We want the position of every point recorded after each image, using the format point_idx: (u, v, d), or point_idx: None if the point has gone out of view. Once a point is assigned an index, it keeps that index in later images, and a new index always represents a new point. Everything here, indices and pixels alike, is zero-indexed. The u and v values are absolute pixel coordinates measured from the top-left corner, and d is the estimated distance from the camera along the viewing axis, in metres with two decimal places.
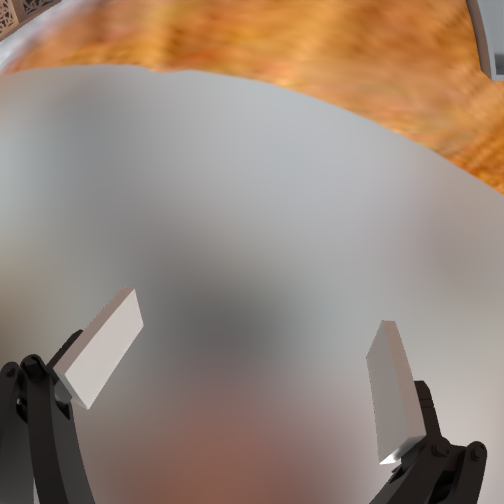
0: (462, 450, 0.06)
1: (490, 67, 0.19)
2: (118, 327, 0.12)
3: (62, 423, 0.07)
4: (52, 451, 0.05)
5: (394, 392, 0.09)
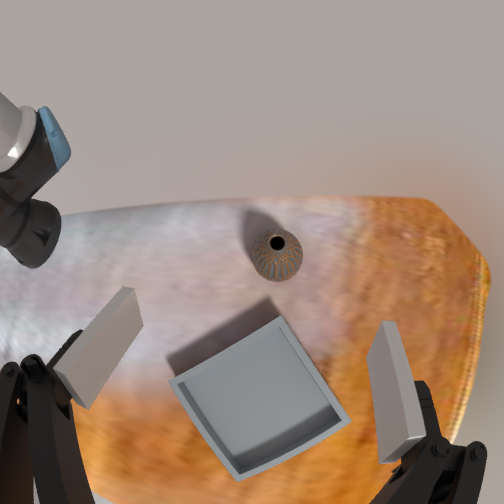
0: (462, 450, 0.06)
1: (229, 470, 0.29)
2: (118, 327, 0.12)
3: (62, 423, 0.07)
4: (52, 451, 0.05)
5: (394, 392, 0.09)
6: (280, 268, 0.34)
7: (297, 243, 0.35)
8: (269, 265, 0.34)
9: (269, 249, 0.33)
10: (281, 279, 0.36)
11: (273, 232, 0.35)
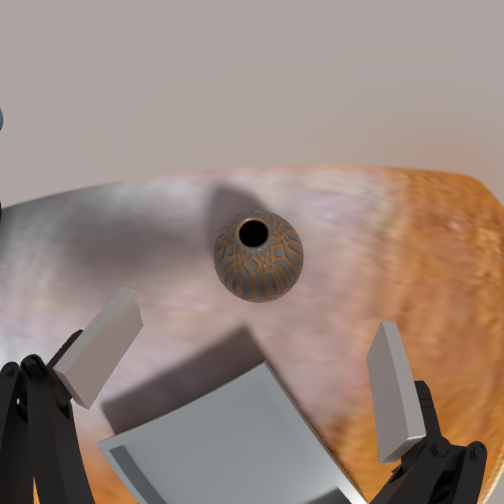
0: (462, 450, 0.06)
1: None
2: (118, 327, 0.12)
3: (62, 423, 0.07)
4: (52, 451, 0.05)
5: (394, 392, 0.09)
6: (261, 282, 0.18)
7: (293, 235, 0.19)
8: (240, 275, 0.18)
9: (238, 246, 0.17)
10: (265, 300, 0.20)
11: (248, 215, 0.19)
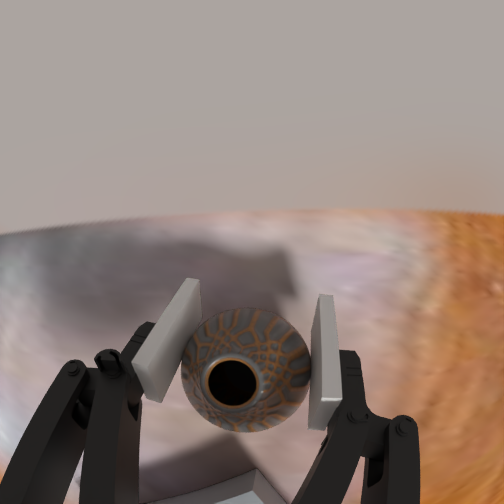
0: (386, 427, 0.07)
1: None
2: (187, 317, 0.14)
3: (129, 426, 0.08)
4: (111, 457, 0.06)
5: (319, 357, 0.11)
6: (247, 428, 0.10)
7: (299, 359, 0.12)
8: (216, 420, 0.11)
9: (207, 400, 0.09)
10: None
11: (227, 333, 0.11)
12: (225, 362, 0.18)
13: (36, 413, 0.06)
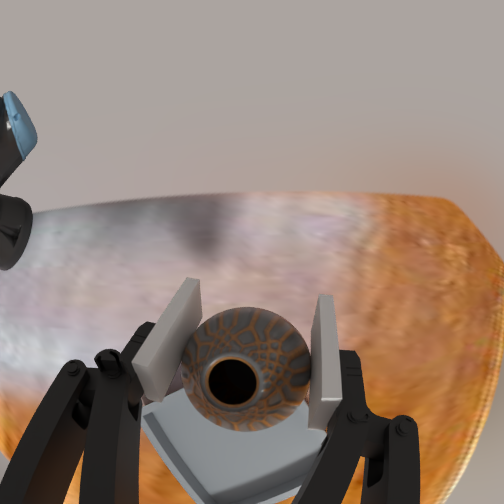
0: (386, 426, 0.07)
1: None
2: (187, 317, 0.14)
3: (129, 426, 0.08)
4: (111, 457, 0.06)
5: (319, 357, 0.11)
6: (247, 427, 0.11)
7: (299, 358, 0.12)
8: (216, 419, 0.11)
9: (208, 399, 0.09)
10: None
11: (227, 332, 0.11)
12: (225, 362, 0.18)
13: (36, 413, 0.06)
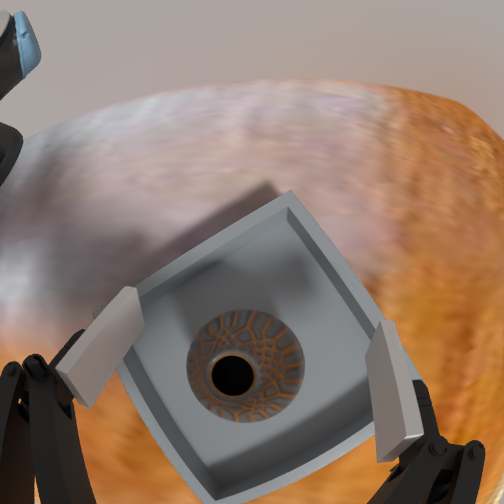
0: (460, 449, 0.06)
1: (195, 492, 0.14)
2: (120, 327, 0.12)
3: (64, 423, 0.07)
4: (53, 451, 0.05)
5: (392, 391, 0.09)
6: (247, 418, 0.12)
7: (292, 355, 0.13)
8: (219, 411, 0.12)
9: (211, 392, 0.11)
10: None
11: (227, 332, 0.13)
12: (225, 360, 0.19)
13: None
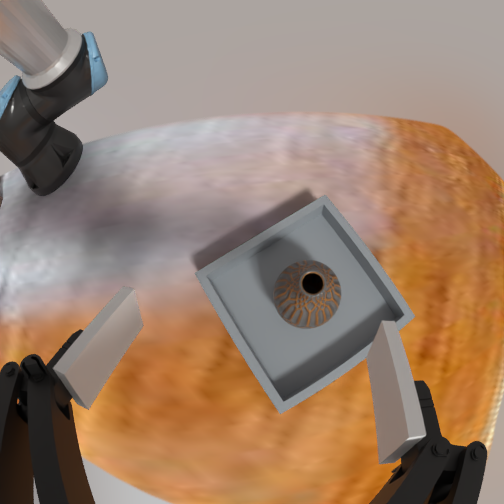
0: (462, 450, 0.06)
1: (269, 396, 0.25)
2: (118, 327, 0.12)
3: (62, 423, 0.07)
4: (52, 451, 0.05)
5: (394, 392, 0.09)
6: (315, 316, 0.24)
7: (336, 280, 0.25)
8: (299, 312, 0.24)
9: (301, 293, 0.23)
10: (313, 327, 0.26)
11: (304, 266, 0.25)
12: None
13: None
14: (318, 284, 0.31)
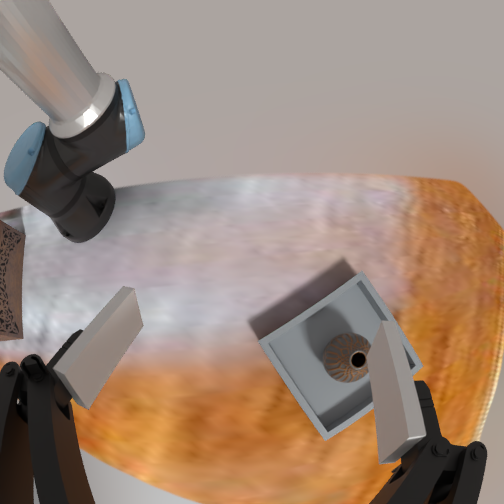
0: (462, 450, 0.06)
1: (317, 429, 0.32)
2: (118, 327, 0.12)
3: (62, 423, 0.07)
4: (52, 451, 0.05)
5: (394, 392, 0.09)
6: (356, 377, 0.30)
7: None
8: (346, 376, 0.30)
9: (350, 367, 0.29)
10: None
11: (351, 344, 0.31)
12: None
13: None
14: None
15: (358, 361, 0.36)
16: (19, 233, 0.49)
